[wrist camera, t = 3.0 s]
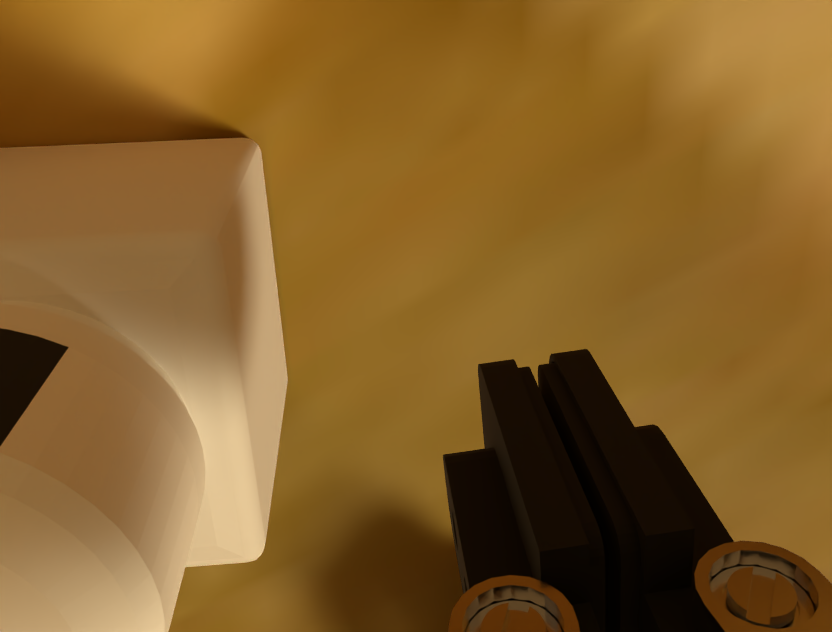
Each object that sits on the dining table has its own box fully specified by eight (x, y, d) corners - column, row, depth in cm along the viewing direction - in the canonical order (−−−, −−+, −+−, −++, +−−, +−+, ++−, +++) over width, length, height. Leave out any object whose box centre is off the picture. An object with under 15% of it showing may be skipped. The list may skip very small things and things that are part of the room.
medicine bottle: (33, 399, 21) (-293, 872, 10) (-43, 146, 18) (-624, 450, 7) (290, 383, 22) (233, 821, 11) (261, 133, 18) (139, 400, 8)
